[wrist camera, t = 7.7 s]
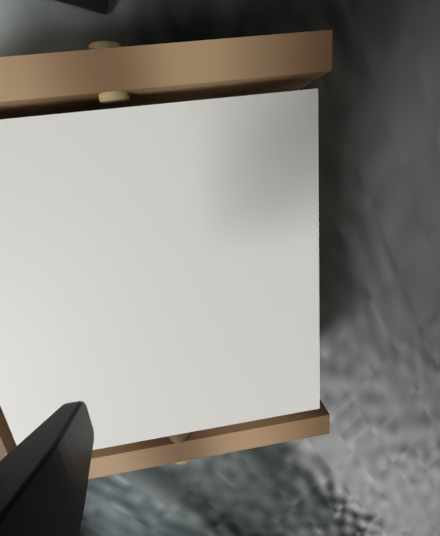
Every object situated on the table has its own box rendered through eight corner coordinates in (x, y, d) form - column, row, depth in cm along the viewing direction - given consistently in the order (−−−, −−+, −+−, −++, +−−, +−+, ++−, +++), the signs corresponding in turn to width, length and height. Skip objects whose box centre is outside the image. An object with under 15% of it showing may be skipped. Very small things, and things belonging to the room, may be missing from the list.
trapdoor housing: (276, 72, 17) (332, 22, 11) (288, 361, 23) (329, 436, 16) (-54, 102, 15) (-206, 65, 9) (50, 401, 21) (-2, 499, 15)
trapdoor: (291, 101, 14) (318, 88, 11) (299, 373, 18) (319, 408, 16) (-53, 136, 13) (-114, 130, 10) (47, 416, 17) (23, 462, 15)
